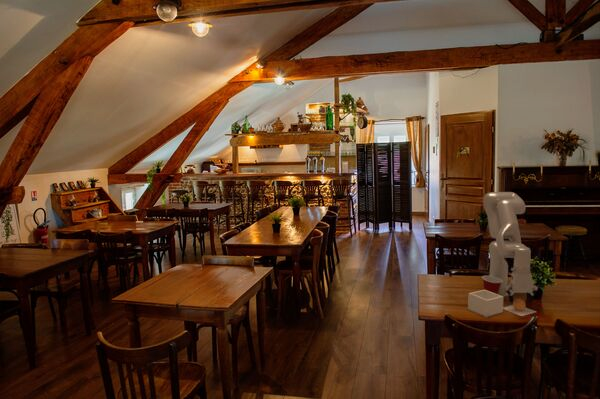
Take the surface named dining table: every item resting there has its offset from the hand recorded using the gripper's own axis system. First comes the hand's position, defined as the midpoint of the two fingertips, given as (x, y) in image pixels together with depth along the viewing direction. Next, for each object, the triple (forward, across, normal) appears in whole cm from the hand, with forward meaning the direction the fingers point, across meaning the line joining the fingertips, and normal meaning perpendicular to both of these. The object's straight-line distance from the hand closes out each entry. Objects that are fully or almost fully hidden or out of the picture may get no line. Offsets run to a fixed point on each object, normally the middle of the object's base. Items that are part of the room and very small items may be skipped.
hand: (520, 302), depth 225 cm
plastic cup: (+5, -7, +19) cm, 21 cm away
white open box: (+5, -18, +1) cm, 19 cm away
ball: (+4, 0, +1) cm, 5 cm away
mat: (+5, 0, +1) cm, 5 cm away
